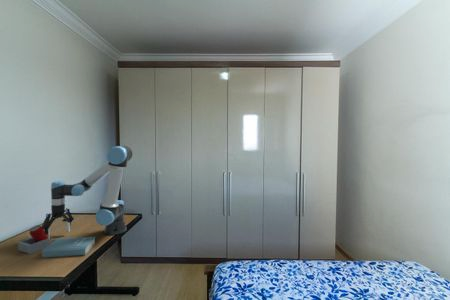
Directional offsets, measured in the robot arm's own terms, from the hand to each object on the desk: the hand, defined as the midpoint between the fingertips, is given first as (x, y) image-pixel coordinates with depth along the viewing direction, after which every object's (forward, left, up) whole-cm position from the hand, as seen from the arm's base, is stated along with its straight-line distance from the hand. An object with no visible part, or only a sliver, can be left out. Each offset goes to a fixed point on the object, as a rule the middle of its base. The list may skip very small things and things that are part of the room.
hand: (58, 234), depth 162 cm
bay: (-2, +13, -3) cm, 14 cm away
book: (-24, +8, -3) cm, 25 cm away
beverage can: (0, +10, -2) cm, 10 cm away
